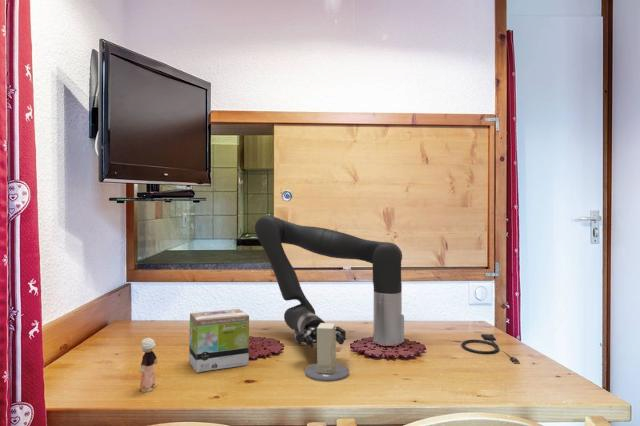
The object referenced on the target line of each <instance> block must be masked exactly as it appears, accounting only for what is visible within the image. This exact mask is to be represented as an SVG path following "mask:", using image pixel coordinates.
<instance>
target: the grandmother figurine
mask: <svg viewBox="0 0 640 426" xmlns="http://www.w3.org/2000/svg"><path fill="white" fill-rule="evenodd" d="M156 345H157V344H156V343H155V340H154V339H153V338H150V337H146V338H143V339H142V340H141V349H142V352H143V353H144V354H143V356H142V361H141V363H140V369H139V372H140V374H141V375H140V378H139V379H140V380H139V388H141V389H140V391H141V392H142V393H149V392H152V391H153V389H155V388H157V384H156V374H155V373H156V372H155V368H154V365H157V364H158V359H157V356H156V354H155V352H154V348H156Z"/></svg>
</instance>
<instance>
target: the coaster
mask: <svg viewBox="0 0 640 426" xmlns="http://www.w3.org/2000/svg"><path fill="white" fill-rule="evenodd" d="M304 375H305V376H306V377H307V378H309V379H311V380H314V381H318V382H337V381H341V380H344V379H346V378H347V377H348V376H349V375H350V369H349V367H347V366H346V365H343V364H341V363H337V362H336V368H335V370H334V372H333V374H325V373H317V363H313V364H310V365H308V366H307V367H305V369H304Z"/></svg>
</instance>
